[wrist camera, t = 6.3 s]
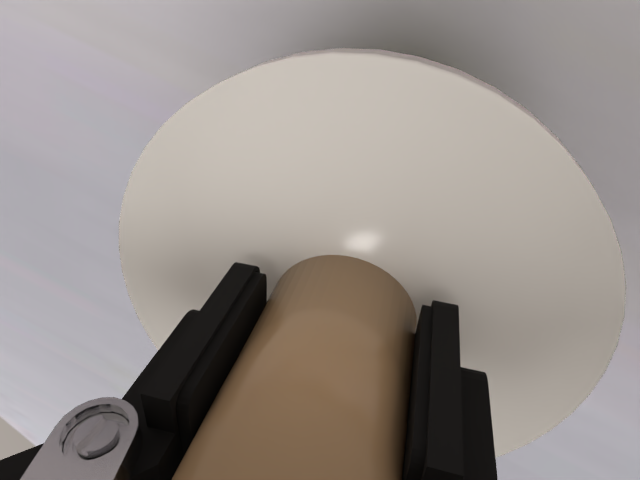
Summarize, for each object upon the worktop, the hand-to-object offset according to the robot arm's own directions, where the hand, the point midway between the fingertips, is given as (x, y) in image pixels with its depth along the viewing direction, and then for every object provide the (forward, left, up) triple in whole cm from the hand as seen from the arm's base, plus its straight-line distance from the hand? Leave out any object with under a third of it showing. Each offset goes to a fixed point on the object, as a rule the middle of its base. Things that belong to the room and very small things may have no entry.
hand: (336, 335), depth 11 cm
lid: (0, 0, -2) cm, 2 cm away
